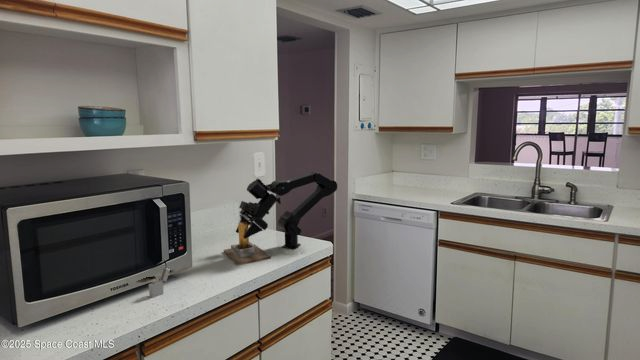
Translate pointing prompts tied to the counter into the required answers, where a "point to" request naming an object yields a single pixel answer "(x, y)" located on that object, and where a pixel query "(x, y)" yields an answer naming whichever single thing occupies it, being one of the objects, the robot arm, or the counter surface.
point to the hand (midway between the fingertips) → (240, 235)
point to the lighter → (158, 284)
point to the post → (242, 230)
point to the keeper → (246, 254)
